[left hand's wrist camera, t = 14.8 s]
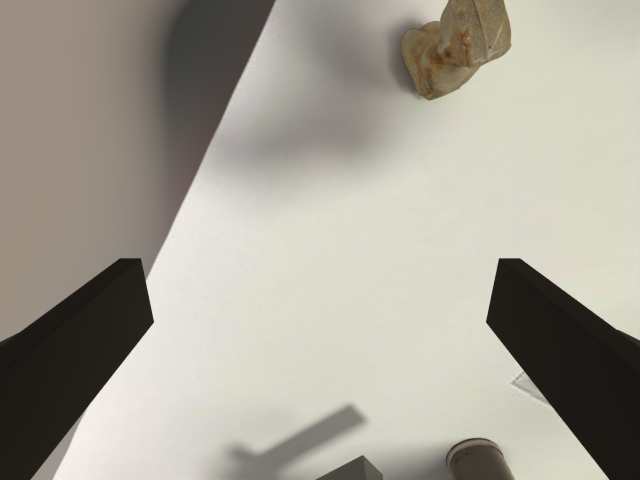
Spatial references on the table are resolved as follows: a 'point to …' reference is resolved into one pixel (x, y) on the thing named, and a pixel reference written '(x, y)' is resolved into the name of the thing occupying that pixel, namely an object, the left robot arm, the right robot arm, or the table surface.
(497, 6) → the sculpture
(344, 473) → the bar
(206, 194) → the table surface
